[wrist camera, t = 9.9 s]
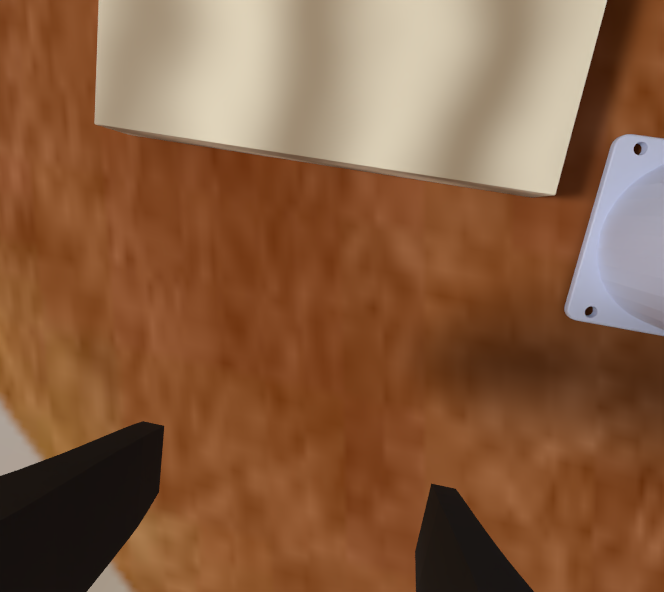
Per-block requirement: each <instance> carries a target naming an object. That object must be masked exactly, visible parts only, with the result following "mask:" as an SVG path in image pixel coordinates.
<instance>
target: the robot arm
mask: <svg viewBox="0 0 664 592" xmlns="http://www.w3.org/2000/svg"><path fill="white" fill-rule="evenodd" d="M636 144H640V146H641V147H642V151H641V153H640V154H639V155H637V154H635V153H634V146H635V145H636ZM589 306H592V307H593V312H592V313H591V314H590V315H587V316H586V315H585V310H586V308H588V307H589ZM564 311H565V313H566V315H567V316H568V317H569V318H571V319H574V320H577V321H582V322H588V323H593V324H599V325H605V326H610V327H616V328H621V329H627V330H633V331H638V332H644V333H650V334H655V335H661V336H664V139H662V138H654V137H647V136H640V135H633V134H626V135H623V136H620V137H618V138H616V139H615V140H614V141H613V143H612V145H611V147H610V150H609V154H608V157H607V161H606V164H605V168H604V171H603V175H602V178H601V182H600V185H599V189H598V192H597V196H596V199H595V203H594V206H593V209H592V213H591V216H590V220H589V223H588V227H587V230H586V234H585V237H584V241H583V244H582V248H581V251H580V255H579V258H578V262H577V265H576V269H575V272H574V276H573V279H572V282H571V286H570V289H569V293H568V296H567V300H566V303H565V308H564ZM163 434H164V426H162V425H157V424H153V423H148V422H140V423H137V424H134V425H131V426H128V427H126V428H123V429H121V430H118V431H116V432H114V433H111V434H109V435H106V436H104V437H102V438H99V439H97V440H94V441H92V442H89V443H87V444H85V445H82V446H80V447H77V448H75V449H72V450H70V451H68V452H65V453H62V454H60V455H57V456H54V457H52V458H49V459H46V460H44V461H41V462H38V463H36V464H33V465H30V466H28V467H25V468H23V469H20V470H17V471H14V472H11V473H8V474H5V475H2V476H0V592H87V591H88V589H89V588H90V587H91V586H92V584H93V583H94V582H95V581H96V579H97V578H98V577H99V576H100V574H101V573H102V572H103V571H104V569H105V568H106V567H107V566H108V564H109V563H110V562H111V561H112V559H113V558H114V557H115V555H116V554H117V553H118V552H119V550H120V549H121V548H122V547H123V545H124V544H125V543H126V541H127V540H128V539H129V538H130V536H131V535H132V534H133V532H134V531H135V530H136V528H137V527H138V525H139V524H140V522H141V521H142V519H143V518H144V516H145V514H146V513H147V511H148V509H149V508H150V506H151V504H152V503H153V501H154V499H155V498H156V496H157V494H158V493H159V484H160V472H161V459H162V447H163ZM415 560H416V592H534V591H533V590H532V589H531V588H530V587H529V585H528V584H527V583H526V582H525V581H524V579H523V578H522V577H521V576H520V575H519V573H518V572H517V571H516V570H515V569H514V567H513V566H512V565H511V564H510V562H509V561H508V560H507V559H506V557H505V556H504V555H503V553H502V552H501V551H500V550H499V548H498V547H497V546H496V544H495V543H494V542H493V540H492V539H491V538H490V536H489V535H488V533H487V532H486V531H485V529H484V528H483V527H482V525H481V524H480V522H479V521H478V520H477V518H476V517H475V515H474V514H473V513H472V511H471V510H470V508H469V507H468V505H467V504H466V503H465V501H464V500H463V498H462V497H461V496H460V494H459V493H458V491H457V490H456V489H454V488H449V487H444V486H440V485H435V484H431V488H430V492H429V496H428V500H427V505H426V509H425V513H424V517H423V521H422V526H421V530H420V534H419V538H418V542H417V546H416V551H415Z"/></svg>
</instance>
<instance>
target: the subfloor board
mask: <svg viewBox="0 0 664 592" xmlns="http://www.w3.org/2000/svg"><path fill="white" fill-rule="evenodd" d="M606 3H607V0H99V11H98V39H97V68H96V97H95V124H96V125H99V126H103V127H106V128H109V129H112V130H116V131H119V132H122V133H125V134H129V135H134V136H140V137H147V138H153V139H160V140H166V141H173V142H179V143H185V144H192V145H198V146H205V147H211V148H218V149H224V150H230V151H237V152H243V153H250V154H256V155H263V156H269V157H275V158H282V159H288V160H295V161H301V162H308V163H314V164H320V165H327V166H333V167H340V168H346V169H353V170H359V171H365V172H372V173H378V174H385V175H391V176H398V177H404V178H410V179H417V180H423V181H430V182H436V183H443V184H449V185H455V186H462V187H468V188H475V189H481V190H488V191H494V192H500V193H507V194H513V195H520V196H526V197H542V196H551V195H555V194H556V190H557V186H558V183H559V179H560V175H561V171H562V168H563V164H564V160H565V156H566V153H567V149H568V145H569V141H570V138H571V134H572V130H573V126H574V123H575V119H576V115H577V111H578V108H579V104H580V100H581V96H582V93H583V89H584V85H585V81H586V78H587V74H588V70H589V67H590V63H591V59H592V55H593V52H594V48H595V44H596V40H597V37H598V33H599V29H600V25H601V22H602V18H603V14H604V10H605V7H606Z"/></svg>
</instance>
